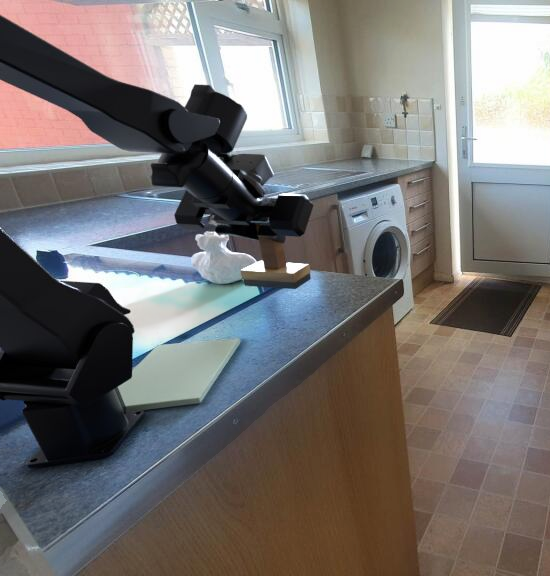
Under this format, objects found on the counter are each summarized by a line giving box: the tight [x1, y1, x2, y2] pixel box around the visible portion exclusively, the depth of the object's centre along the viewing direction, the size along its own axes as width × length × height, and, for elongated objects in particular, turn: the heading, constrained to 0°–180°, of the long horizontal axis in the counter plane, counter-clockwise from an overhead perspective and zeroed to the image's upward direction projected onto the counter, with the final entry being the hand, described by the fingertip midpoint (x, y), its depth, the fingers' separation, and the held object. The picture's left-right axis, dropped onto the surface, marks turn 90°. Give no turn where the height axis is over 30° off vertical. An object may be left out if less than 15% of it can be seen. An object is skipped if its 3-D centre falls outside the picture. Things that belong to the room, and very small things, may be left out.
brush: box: [240, 222, 312, 290], centre depth 67 cm, size 5×9×13 cm, turn 86°
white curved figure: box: [190, 230, 258, 285], centre depth 77 cm, size 12×8×11 cm
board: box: [118, 337, 242, 412], centre depth 51 cm, size 14×10×1 cm
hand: (276, 240), depth 68 cm, fingers closed on brush, 2 cm apart
